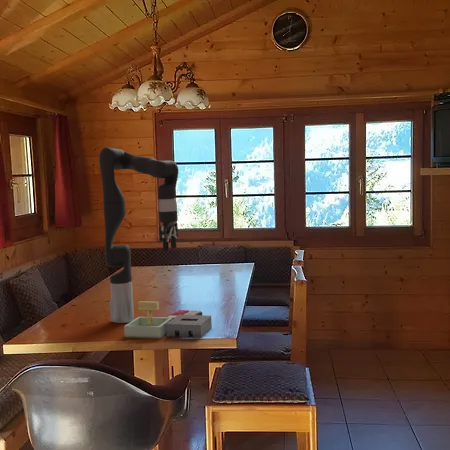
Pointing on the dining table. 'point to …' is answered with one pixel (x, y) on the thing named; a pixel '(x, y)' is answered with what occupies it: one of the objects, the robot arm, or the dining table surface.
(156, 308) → the t key
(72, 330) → the dining table surface
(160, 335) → the tray
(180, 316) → the lock block
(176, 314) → the calculator
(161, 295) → the dining table surface
